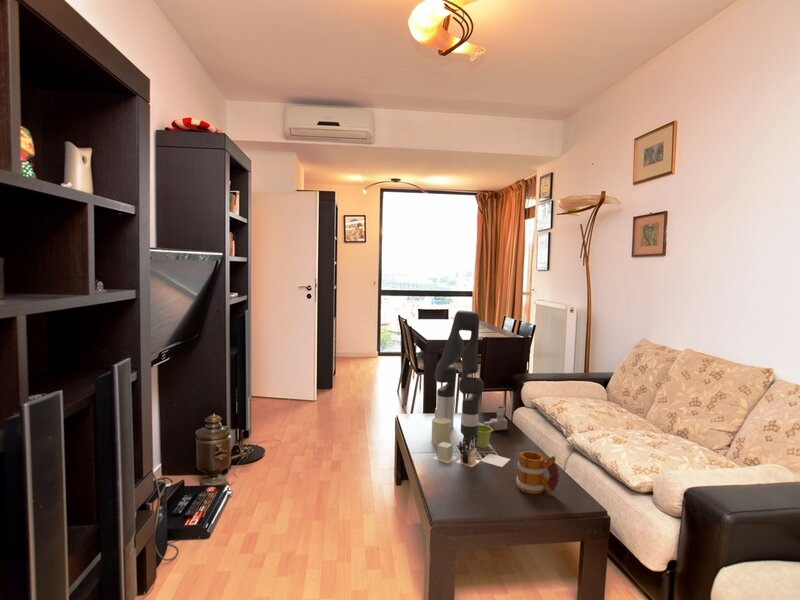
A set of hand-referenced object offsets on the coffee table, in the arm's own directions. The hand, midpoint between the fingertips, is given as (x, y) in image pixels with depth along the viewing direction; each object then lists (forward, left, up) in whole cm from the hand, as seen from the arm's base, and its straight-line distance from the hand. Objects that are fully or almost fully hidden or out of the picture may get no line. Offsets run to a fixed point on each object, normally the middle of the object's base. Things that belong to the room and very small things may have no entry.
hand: (468, 460), depth 195 cm
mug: (+32, -6, -1) cm, 33 cm away
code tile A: (0, 0, -1) cm, 1 cm away
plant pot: (-3, +21, -1) cm, 21 cm away
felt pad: (+9, +9, -1) cm, 13 cm away
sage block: (-10, -3, 0) cm, 10 cm away
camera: (-8, +46, -1) cm, 47 cm away
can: (-20, +11, -1) cm, 23 cm away
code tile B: (-10, -3, -1) cm, 10 cm away
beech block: (0, 0, 0) cm, 0 cm away
